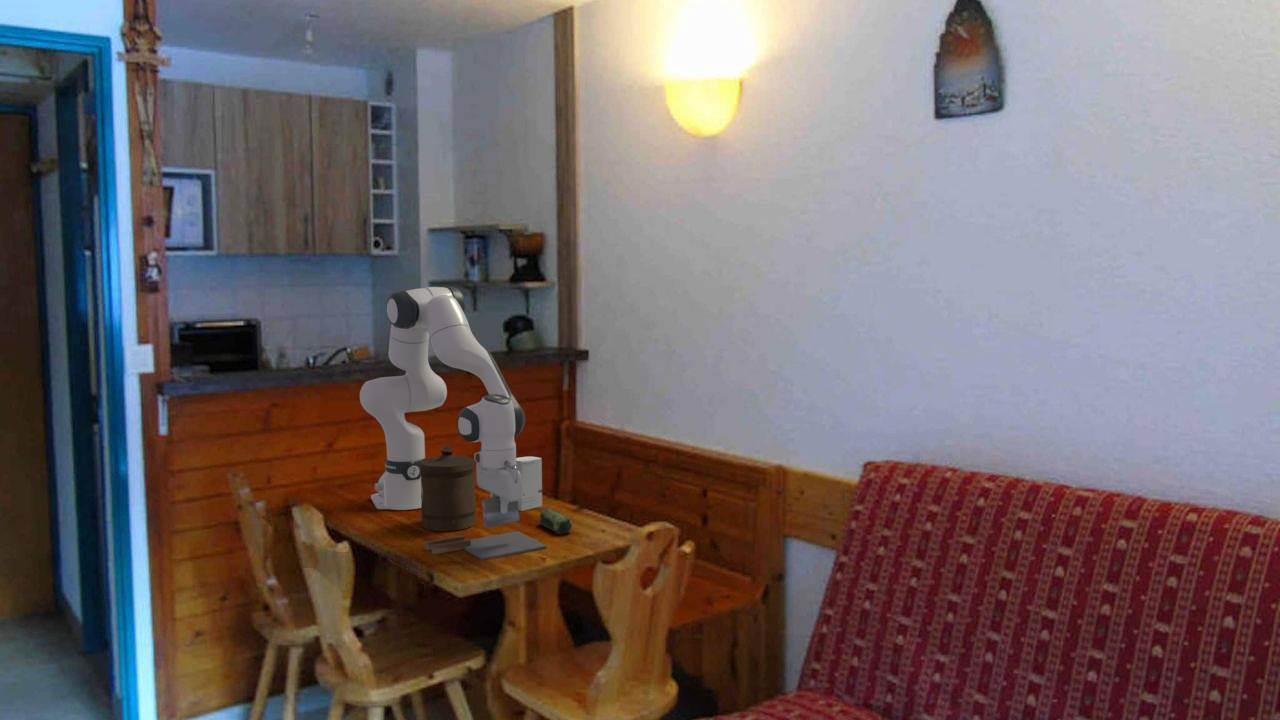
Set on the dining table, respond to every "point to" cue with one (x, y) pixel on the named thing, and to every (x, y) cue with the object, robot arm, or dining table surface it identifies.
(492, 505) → the tile
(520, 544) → the mat
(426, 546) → the holder
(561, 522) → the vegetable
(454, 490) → the wooden container
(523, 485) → the skincare box
